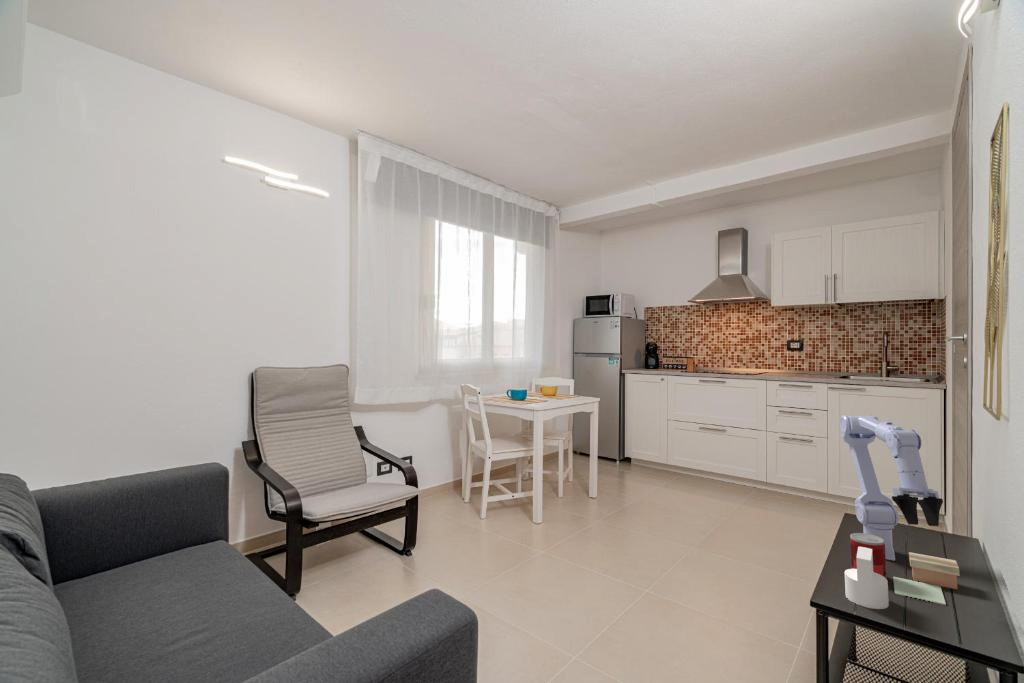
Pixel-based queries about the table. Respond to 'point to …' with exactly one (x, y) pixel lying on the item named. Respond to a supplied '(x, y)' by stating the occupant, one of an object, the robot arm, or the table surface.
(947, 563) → the beige block
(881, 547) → the canned food
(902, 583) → the mat
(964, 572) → the table surface
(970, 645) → the table surface
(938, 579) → the brown and cream block
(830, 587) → the table surface
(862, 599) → the cylinder with rectangular tab
